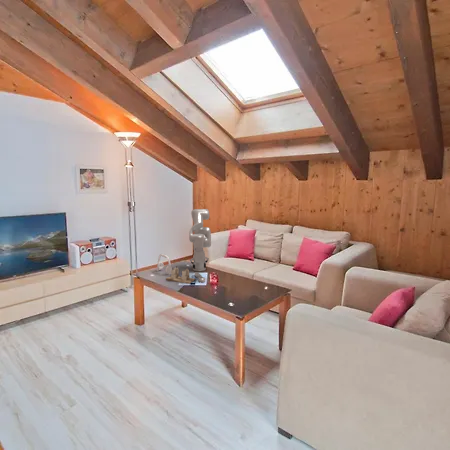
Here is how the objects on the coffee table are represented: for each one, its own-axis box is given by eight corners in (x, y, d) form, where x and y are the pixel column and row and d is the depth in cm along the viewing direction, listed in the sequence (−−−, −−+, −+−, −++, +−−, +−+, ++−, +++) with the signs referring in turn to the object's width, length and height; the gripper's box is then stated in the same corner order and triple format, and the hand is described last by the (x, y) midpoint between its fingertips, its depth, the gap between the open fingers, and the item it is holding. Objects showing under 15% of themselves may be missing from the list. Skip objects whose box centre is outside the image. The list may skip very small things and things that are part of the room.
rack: (172, 276, 300) (171, 264, 298) (195, 280, 290) (194, 267, 288) (165, 280, 291) (165, 267, 289) (189, 283, 281) (188, 270, 279)
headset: (173, 274, 308) (172, 255, 305) (166, 275, 303) (166, 257, 300) (162, 269, 323) (161, 252, 320) (155, 271, 318) (155, 253, 315)
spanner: (193, 275, 303) (193, 272, 303) (199, 275, 305) (199, 271, 305) (200, 283, 283) (200, 279, 282) (206, 282, 285) (206, 279, 284)
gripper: (190, 251, 283) (191, 270, 285) (209, 249, 289) (210, 268, 291) (188, 249, 290) (189, 268, 292) (207, 247, 296) (207, 266, 298)
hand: (199, 268), depth 291 cm, fingers open, 9 cm apart
